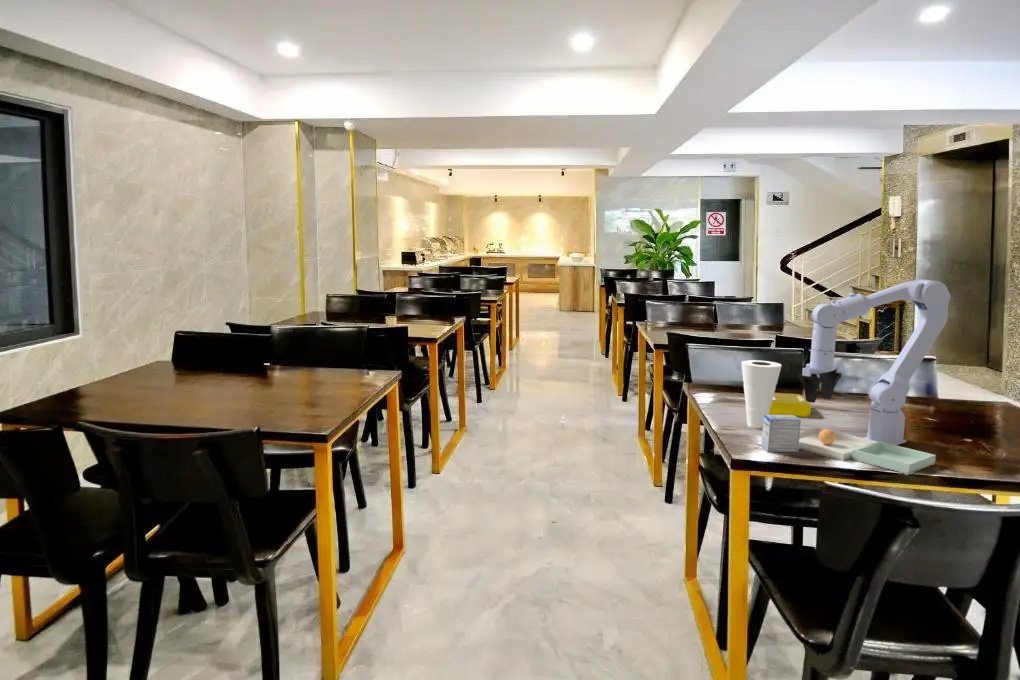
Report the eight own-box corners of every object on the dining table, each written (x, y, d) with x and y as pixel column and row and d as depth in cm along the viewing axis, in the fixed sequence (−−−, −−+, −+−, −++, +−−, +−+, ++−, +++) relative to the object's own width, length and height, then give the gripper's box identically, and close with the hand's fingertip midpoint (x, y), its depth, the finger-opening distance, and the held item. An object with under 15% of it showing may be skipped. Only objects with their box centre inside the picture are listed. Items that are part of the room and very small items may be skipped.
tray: (814, 432, 203) (815, 426, 203) (880, 449, 189) (880, 442, 189) (776, 442, 192) (777, 436, 192) (843, 461, 178) (843, 453, 178)
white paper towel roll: (779, 432, 202) (784, 368, 200) (738, 429, 204) (743, 365, 202) (773, 422, 213) (778, 361, 210) (735, 420, 215) (739, 359, 212)
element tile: (811, 419, 220) (813, 403, 219) (759, 415, 222) (760, 400, 222) (801, 407, 235) (802, 392, 234) (752, 404, 237) (753, 389, 236)
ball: (823, 441, 193) (825, 426, 192) (838, 445, 189) (839, 430, 189) (814, 443, 190) (816, 428, 190) (829, 447, 187) (830, 431, 187)
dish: (878, 450, 187) (879, 441, 187) (934, 465, 177) (935, 454, 177) (851, 459, 179) (852, 449, 179) (908, 475, 169) (909, 464, 168)
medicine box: (791, 447, 188) (794, 414, 187) (798, 453, 184) (801, 419, 183) (760, 447, 188) (763, 414, 187) (767, 452, 184) (770, 418, 183)
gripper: (823, 345, 202) (819, 394, 204) (793, 349, 193) (789, 400, 195) (848, 349, 196) (843, 399, 198) (818, 353, 187) (814, 405, 189)
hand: (818, 400), depth 196 cm, fingers open, 7 cm apart
